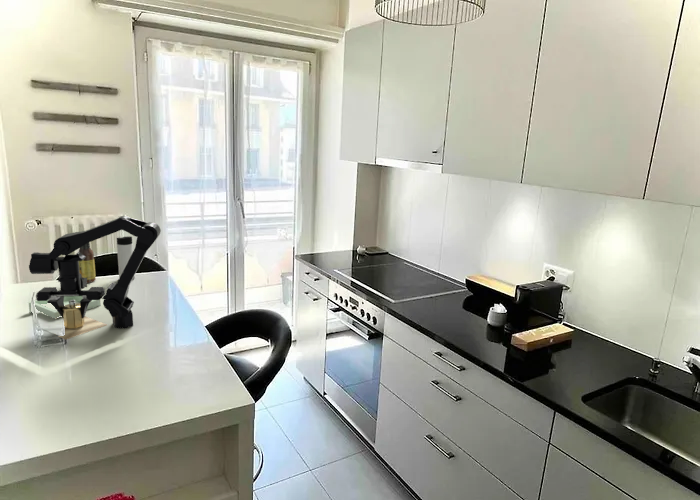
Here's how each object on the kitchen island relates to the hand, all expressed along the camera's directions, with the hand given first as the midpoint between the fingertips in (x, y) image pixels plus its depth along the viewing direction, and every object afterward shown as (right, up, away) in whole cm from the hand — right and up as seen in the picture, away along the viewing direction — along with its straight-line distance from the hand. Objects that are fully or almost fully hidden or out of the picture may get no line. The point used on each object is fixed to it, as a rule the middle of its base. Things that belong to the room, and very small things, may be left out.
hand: (73, 317), depth 150 cm
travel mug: (-9, +9, +54) cm, 56 cm away
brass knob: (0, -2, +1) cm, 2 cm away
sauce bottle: (-24, +9, +49) cm, 55 cm away
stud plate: (0, -5, +1) cm, 5 cm away
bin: (-13, 0, +17) cm, 21 cm away
